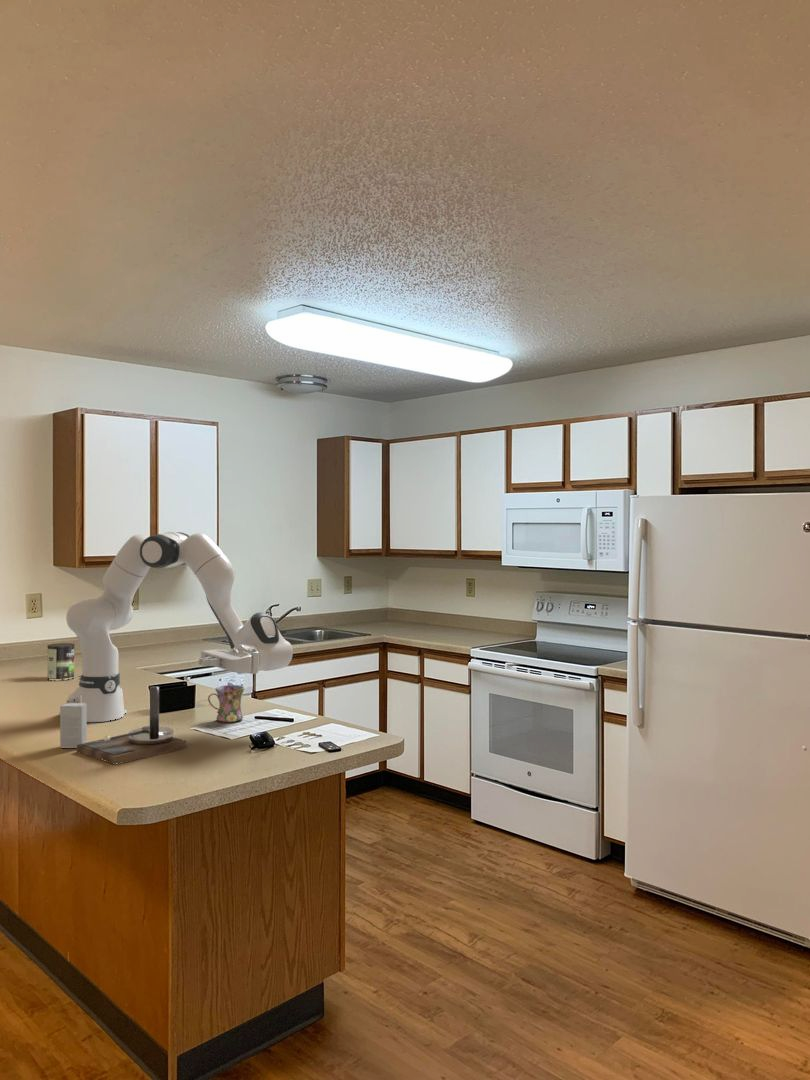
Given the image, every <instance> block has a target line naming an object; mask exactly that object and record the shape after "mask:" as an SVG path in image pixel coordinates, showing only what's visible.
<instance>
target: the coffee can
mask: <svg viewBox="0 0 810 1080" xmlns="http://www.w3.org/2000/svg"><path fill="white" fill-rule="evenodd" d="M75 645H76V644H75V643H71V642H67V643H66V642H61V643H52V644H51V643H50V644H47V679H65V678H71V677H74V678H75Z"/></svg>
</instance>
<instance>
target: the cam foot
mask: <svg viewBox="0 0 810 1080" xmlns="http://www.w3.org/2000/svg"><path fill="white" fill-rule="evenodd" d="M126 736H129V742H131V743H134V744H158V743H164V742H167V741H170V740H172V739H173V737H174V729H173V728H171V727H168V726H167V727H165V726H160V686H157V685H155V686H150V687H149V725H148V726H147V725H145V726H141V727H139V728H136V729H132V730H130V731H129V732H128V733H124V734H120V735H115V736H110V735H105V736H104V738H103V739H104V742H106V743H108V742H110V741H111V740H113V739H117V738H121V737H126Z"/></svg>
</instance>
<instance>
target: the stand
mask: <svg viewBox="0 0 810 1080" xmlns="http://www.w3.org/2000/svg"><path fill="white" fill-rule="evenodd" d="M181 748H183V749H186V748H187V740H185V739H181V738H179V737H178V738H177V737H174V736H173V739H172V740H170V741H167V742H164V743H158V744H134V743H131V742H129V736H126V737H121V738H117V739H113V740H111V741H110V742H108V743H106V742H104V738H102V739H98V740H93V741H87V743H82V744H77V749H76V752H77V753H79V752H80V753H79V754H82V753H84V754H83V755H85V754H87V755H86V756H88V755H90V756H89V757H91V756H93V757H92V758H94V757H96V758H95V759H97V758H99V759H98V760H100V759H103V760H106V761H108V762H112V763H114V764H116V763H120V764H122V763H121V762H124V763H127V762H126V761H129V762H132V761H131V760H133V761H135V760H136V759H137V760H141V759H144V758H149V757H153V755H154V756H156V755H157V754H158V755H162V754H166V753H169V751H170V752H174V751H178V750H177V749H179V750H182V749H181ZM173 750H174V751H173ZM165 752H166V753H165ZM161 753H162V754H161ZM158 755H157V756H158ZM148 756H149V757H148ZM140 758H141V759H140ZM137 760H136V761H137ZM108 762H107V763H108ZM114 764H113V765H114ZM116 765H117V764H116Z"/></svg>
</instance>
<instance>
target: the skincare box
mask: <svg viewBox="0 0 810 1080" xmlns="http://www.w3.org/2000/svg"><path fill="white" fill-rule="evenodd" d="M59 713H60V715H59V719H60V720H59V721H60V722H59V723H60V724H59V725H60V726H59V727H60V729H59V730H60V733H59V734H60V737H59V738H60V740H59V742H60V743H59V744H60V745H59V746H60V747H59V748H60V749H61V748H77V744H82V743H87V742H88V741H87V740H88V739H87V737H88V735H87V734H88V733H87V731H88V730H87V723H88V722H87V711H86V703H67V702H66V703H64V704H62V705H60V707H59Z"/></svg>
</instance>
